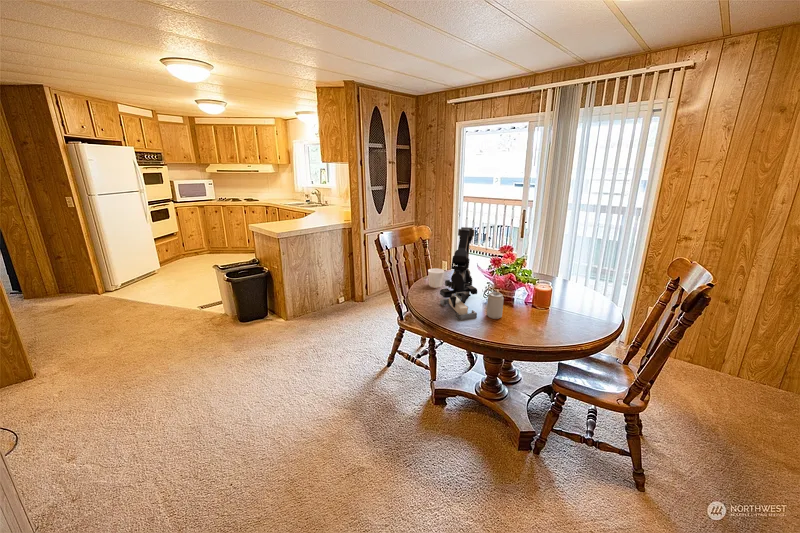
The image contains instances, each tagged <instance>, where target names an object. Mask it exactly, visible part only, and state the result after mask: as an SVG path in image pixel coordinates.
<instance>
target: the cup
mask: <svg viewBox="0 0 800 533" xmlns="http://www.w3.org/2000/svg"><path fill="white" fill-rule="evenodd" d="M427 273H428V275H427V276H428V286H429V287H430V288H435V289H436V288H437V289H438V288H439V289H440V288H441V287H443V284H444V276H445V270H444V269H442V268H437V267H436V268H429V269H427Z"/></svg>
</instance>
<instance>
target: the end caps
mask: <svg viewBox="0 0 800 533" xmlns="http://www.w3.org/2000/svg"><path fill="white" fill-rule="evenodd" d="M439 303H440V306H442V307H443V308H444V307H446V306H445V305H448V304H449V298H442V299H440V302H439ZM449 305H450V304H449ZM477 316H478V313H477V312H476V311H475V310H471V313H468V314H463V315H460V314H459V313H457V312H455V318H456V319H457V320H458V321H465V320H471V319H472V320H473V319H476V318H477Z"/></svg>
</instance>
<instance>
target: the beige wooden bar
mask: <svg viewBox="0 0 800 533" xmlns="http://www.w3.org/2000/svg"><path fill="white" fill-rule="evenodd" d="M455 297H456V304H455V308H453V305H452V302H451V299H450V297H448V299H449V306H450V307H451V308H452V309H453V310H454V311H455V313H459V314H460V315H463V314H469V313H468V311H469V307H468V306H467V305H466V303H463V302H462V301H461V298H459V296H457V295H455Z"/></svg>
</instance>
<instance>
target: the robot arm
mask: <svg viewBox="0 0 800 533" xmlns="http://www.w3.org/2000/svg"><path fill="white" fill-rule="evenodd" d="M457 232H458V233H457V236H458V237H459V241H458V246H457V247H458V248H457V249H456V250H455V252H454V253H453V254H454V255H453V256H452V258H451V260H452V261H451V266H450V267H451V268H450V269H451V270H453V273H452V275H451V277H450V279H448V280H446V279H445V280H444V286H445V287H448V288H441V289H440V291H439V295H440V296H441V297H443V299H449V297H450V299H451V302H452V305H453V308H455V304H456V297H455V296H456V295H458V297H461V298H460V300H461V301H462V302H463V303H464V304H466V301H467V300H468V299H469V297H471V295H477V294H478V289H477V288H476V287H475V286H473V278H472V275H471V271H470V269H469V268H470V267H469V266H470V257H469V256H470V243H471V241H472V240H473V238H474V237H475V229H473V227H466V226H465V227H464V226H461V228H458V231H457ZM449 288H450V289H451V290H450V289H449ZM453 308H452V309H453Z"/></svg>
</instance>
